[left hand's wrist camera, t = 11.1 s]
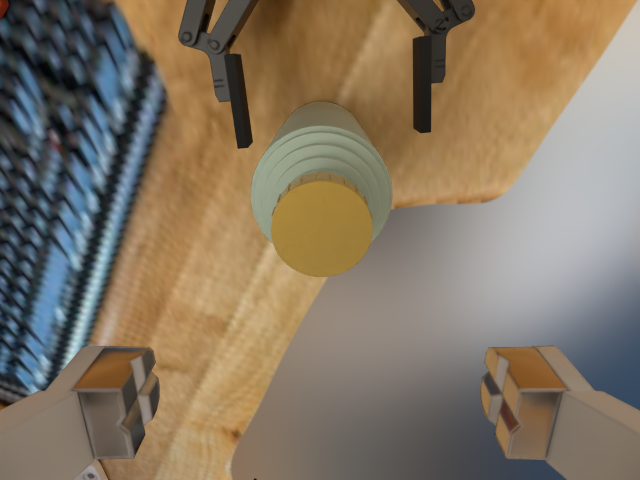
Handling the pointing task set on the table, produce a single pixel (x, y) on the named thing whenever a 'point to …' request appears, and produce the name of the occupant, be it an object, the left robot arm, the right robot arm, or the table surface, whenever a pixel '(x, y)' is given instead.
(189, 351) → the table surface
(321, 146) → the bottle
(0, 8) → the toy
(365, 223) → the cap
